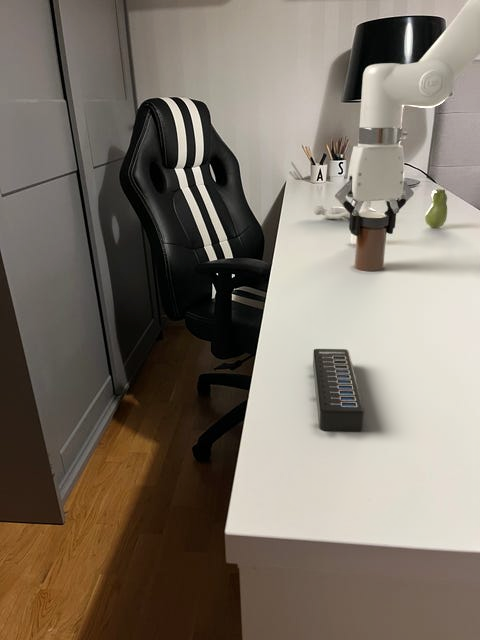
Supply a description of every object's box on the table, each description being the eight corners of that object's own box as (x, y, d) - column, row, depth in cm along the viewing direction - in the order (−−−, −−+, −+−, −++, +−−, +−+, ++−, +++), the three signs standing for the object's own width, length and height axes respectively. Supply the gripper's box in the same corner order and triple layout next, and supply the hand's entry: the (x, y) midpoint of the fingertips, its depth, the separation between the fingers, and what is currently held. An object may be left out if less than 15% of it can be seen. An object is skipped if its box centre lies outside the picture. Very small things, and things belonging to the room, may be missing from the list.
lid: (366, 228, 96) (366, 219, 95) (350, 222, 101) (350, 213, 100) (394, 225, 97) (395, 216, 97) (377, 219, 103) (378, 210, 102)
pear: (446, 229, 132) (452, 190, 128) (425, 229, 133) (430, 190, 129) (443, 225, 137) (448, 187, 133) (422, 224, 138) (427, 187, 134)
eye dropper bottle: (372, 246, 117) (377, 194, 113) (348, 244, 119) (352, 193, 115) (376, 242, 121) (380, 191, 116) (352, 240, 123) (356, 190, 118)
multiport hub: (319, 430, 51) (320, 411, 50) (312, 364, 65) (313, 348, 64) (363, 431, 51) (364, 412, 50) (347, 364, 64) (348, 348, 63)
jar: (379, 262, 105) (383, 215, 101) (386, 271, 100) (391, 221, 96) (351, 263, 105) (354, 216, 101) (357, 271, 100) (361, 222, 96)
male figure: (390, 210, 137) (311, 208, 143) (389, 224, 138) (310, 221, 145) (392, 204, 146) (317, 201, 152) (391, 217, 147) (316, 214, 154)
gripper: (413, 135, 98) (403, 227, 105) (328, 138, 95) (323, 231, 102) (432, 137, 91) (421, 235, 98) (341, 140, 88) (335, 240, 95)
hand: (371, 232), depth 100 cm, fingers closed on lid, 6 cm apart
